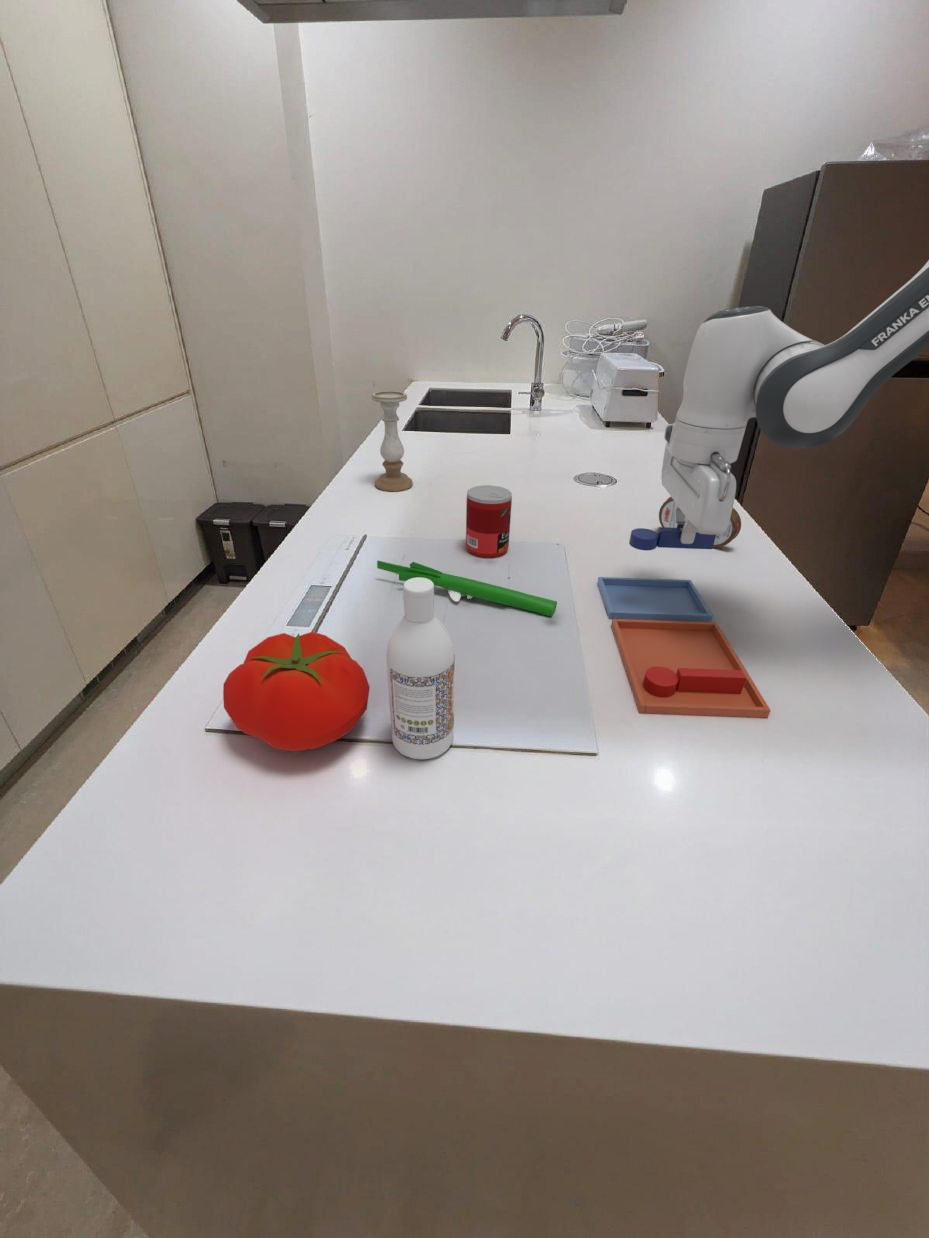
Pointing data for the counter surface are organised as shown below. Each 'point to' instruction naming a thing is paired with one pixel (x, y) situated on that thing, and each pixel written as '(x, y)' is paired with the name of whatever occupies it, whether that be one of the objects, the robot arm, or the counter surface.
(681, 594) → the slate tray
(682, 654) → the terracotta tray
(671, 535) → the blue spoon
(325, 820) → the counter surface
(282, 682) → the tomato
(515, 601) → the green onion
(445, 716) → the bath foam
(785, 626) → the counter surface
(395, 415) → the candle holder
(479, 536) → the canned food
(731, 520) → the tin
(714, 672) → the red spoon
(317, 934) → the counter surface
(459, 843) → the counter surface
